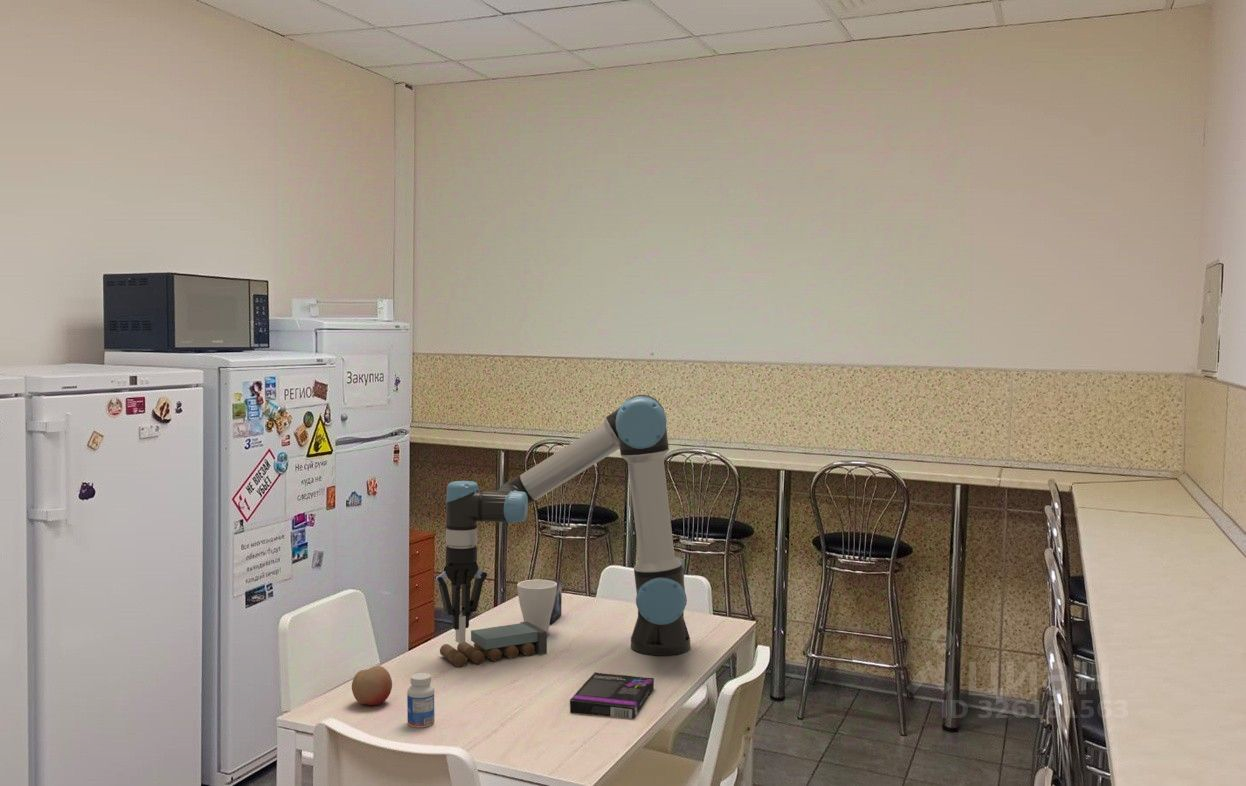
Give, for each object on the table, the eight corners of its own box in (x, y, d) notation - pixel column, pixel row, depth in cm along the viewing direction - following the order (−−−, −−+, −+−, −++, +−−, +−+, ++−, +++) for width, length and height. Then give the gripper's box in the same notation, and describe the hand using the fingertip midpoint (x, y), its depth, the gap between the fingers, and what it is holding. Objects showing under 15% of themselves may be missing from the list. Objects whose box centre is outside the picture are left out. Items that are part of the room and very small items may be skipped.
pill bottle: (409, 718, 211) (409, 671, 211) (435, 718, 212) (435, 671, 211) (405, 728, 206) (405, 680, 206) (433, 728, 206) (433, 680, 206)
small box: (552, 625, 283) (553, 587, 282) (529, 624, 284) (530, 586, 284) (562, 615, 293) (563, 578, 293) (540, 614, 294) (540, 577, 294)
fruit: (371, 695, 226) (371, 659, 225) (399, 702, 221) (399, 665, 221) (344, 706, 219) (344, 668, 218) (372, 713, 215) (372, 675, 214)
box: (633, 723, 212) (654, 691, 231) (633, 707, 212) (655, 675, 231) (568, 716, 216) (595, 684, 235) (568, 699, 216) (595, 669, 234)
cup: (509, 637, 271) (510, 586, 270) (528, 627, 280) (528, 578, 280) (545, 641, 267) (546, 590, 266) (563, 631, 277) (563, 581, 276)
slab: (537, 641, 256) (537, 631, 256) (485, 649, 249) (485, 639, 249) (522, 632, 264) (522, 623, 264) (470, 640, 257) (470, 630, 257)
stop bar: (546, 653, 257) (546, 631, 256) (539, 654, 256) (539, 632, 255) (527, 642, 266) (527, 621, 266) (520, 643, 265) (520, 622, 265)
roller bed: (535, 654, 256) (535, 642, 255) (455, 668, 245) (455, 655, 245) (517, 644, 264) (517, 633, 264) (439, 657, 253) (439, 644, 253)
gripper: (480, 540, 256) (479, 634, 257) (430, 544, 250) (429, 641, 251) (492, 545, 250) (491, 642, 251) (441, 550, 243) (440, 649, 244)
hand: (460, 641), depth 251 cm, fingers closed
